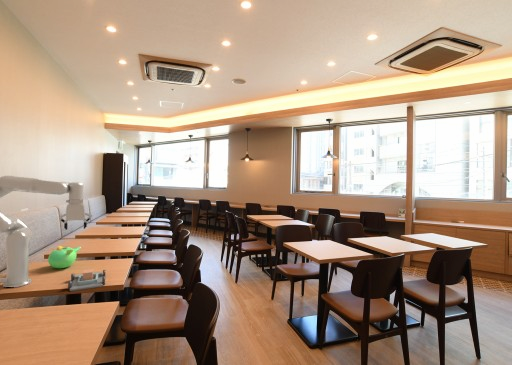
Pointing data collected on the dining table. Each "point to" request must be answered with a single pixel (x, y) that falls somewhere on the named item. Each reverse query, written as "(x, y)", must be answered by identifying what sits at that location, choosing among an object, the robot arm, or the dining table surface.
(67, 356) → the dining table surface
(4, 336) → the dining table surface
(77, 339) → the dining table surface
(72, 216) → the robot arm
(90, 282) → the chassis
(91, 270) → the terracotta rectangular box
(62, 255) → the toy bird
